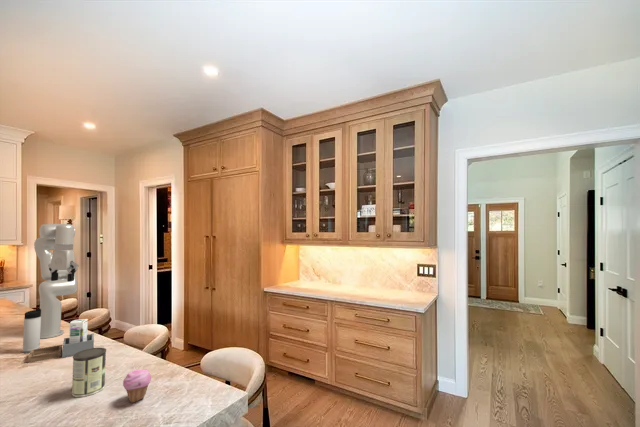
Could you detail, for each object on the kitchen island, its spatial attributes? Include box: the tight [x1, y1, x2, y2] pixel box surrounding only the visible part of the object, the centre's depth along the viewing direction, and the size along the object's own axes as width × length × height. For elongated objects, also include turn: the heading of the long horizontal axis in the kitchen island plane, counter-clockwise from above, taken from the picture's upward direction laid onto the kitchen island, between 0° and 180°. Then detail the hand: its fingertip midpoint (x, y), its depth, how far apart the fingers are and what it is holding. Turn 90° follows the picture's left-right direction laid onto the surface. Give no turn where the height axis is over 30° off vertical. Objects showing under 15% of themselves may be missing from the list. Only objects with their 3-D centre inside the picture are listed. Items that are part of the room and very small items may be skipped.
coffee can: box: [71, 347, 107, 398], centre depth 118 cm, size 10×10×14 cm
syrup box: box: [68, 318, 89, 344], centre depth 156 cm, size 6×6×14 cm
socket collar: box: [27, 344, 63, 364], centre depth 149 cm, size 12×12×2 cm
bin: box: [61, 333, 95, 359], centre depth 155 cm, size 12×12×6 cm
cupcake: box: [122, 368, 152, 403], centre depth 112 cm, size 9×9×10 cm
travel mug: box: [22, 308, 41, 354], centre depth 156 cm, size 6×7×20 cm
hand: (62, 280), depth 162 cm, fingers open, 9 cm apart
